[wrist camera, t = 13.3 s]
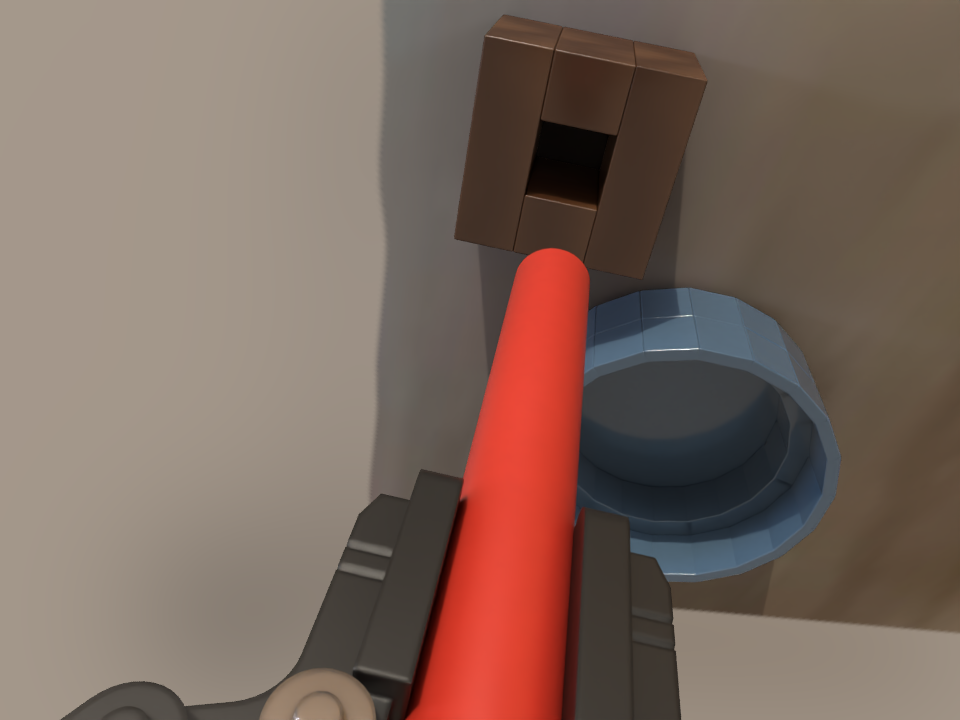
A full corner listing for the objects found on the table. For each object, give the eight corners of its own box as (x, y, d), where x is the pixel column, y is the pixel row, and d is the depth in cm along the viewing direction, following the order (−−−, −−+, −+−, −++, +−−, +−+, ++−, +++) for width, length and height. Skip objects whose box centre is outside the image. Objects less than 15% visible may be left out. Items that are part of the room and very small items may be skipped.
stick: (598, 256, 19) (570, 861, 7) (580, 321, 20) (530, 933, 8) (522, 240, 19) (373, 811, 7) (509, 305, 20) (359, 891, 8)
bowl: (859, 319, 34) (901, 392, 29) (748, 523, 42) (766, 608, 37) (565, 255, 34) (557, 317, 29) (511, 469, 42) (497, 545, 37)
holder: (694, 52, 29) (708, 80, 25) (639, 231, 33) (642, 280, 29) (503, 13, 29) (484, 34, 25) (473, 196, 33) (453, 239, 29)
